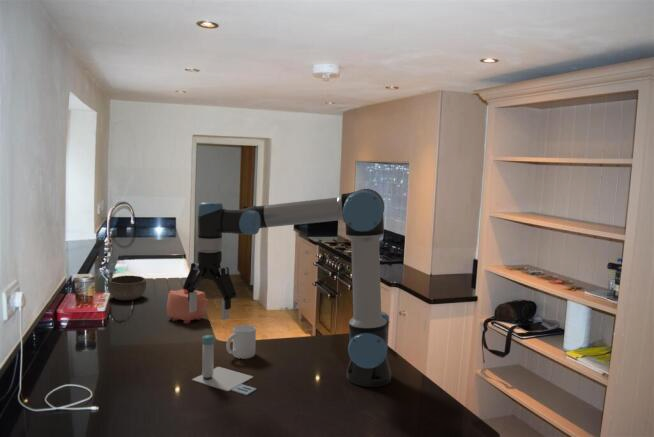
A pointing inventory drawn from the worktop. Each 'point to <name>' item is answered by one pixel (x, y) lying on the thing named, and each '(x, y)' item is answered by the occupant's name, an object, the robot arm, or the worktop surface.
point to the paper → (224, 379)
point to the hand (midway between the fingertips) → (208, 315)
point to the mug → (242, 341)
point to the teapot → (185, 306)
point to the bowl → (127, 287)
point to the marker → (208, 357)
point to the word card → (243, 389)
